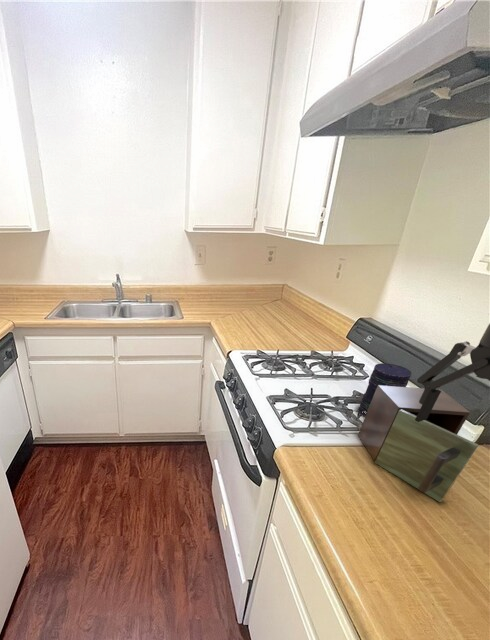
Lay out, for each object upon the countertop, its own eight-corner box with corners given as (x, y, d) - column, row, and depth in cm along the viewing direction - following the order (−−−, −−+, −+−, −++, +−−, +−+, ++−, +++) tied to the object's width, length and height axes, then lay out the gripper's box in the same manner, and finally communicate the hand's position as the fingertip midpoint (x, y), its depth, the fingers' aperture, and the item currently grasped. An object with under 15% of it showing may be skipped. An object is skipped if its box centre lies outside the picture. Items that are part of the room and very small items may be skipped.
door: (423, 512, 74) (459, 454, 66) (358, 469, 86) (382, 416, 77) (442, 501, 77) (479, 444, 69) (377, 461, 89) (401, 409, 80)
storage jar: (395, 423, 105) (416, 378, 97) (360, 418, 107) (378, 373, 99) (387, 408, 113) (407, 365, 105) (355, 403, 115) (371, 361, 107)
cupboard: (438, 465, 88) (470, 412, 79) (374, 460, 89) (399, 407, 80) (414, 439, 98) (441, 389, 89) (357, 435, 99) (377, 385, 90)
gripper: (649, 347, 46) (547, 470, 57) (453, 304, 65) (406, 404, 76) (624, 354, 43) (523, 482, 55) (427, 307, 62) (383, 410, 74)
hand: (455, 437), depth 66 cm, fingers open, 13 cm apart
